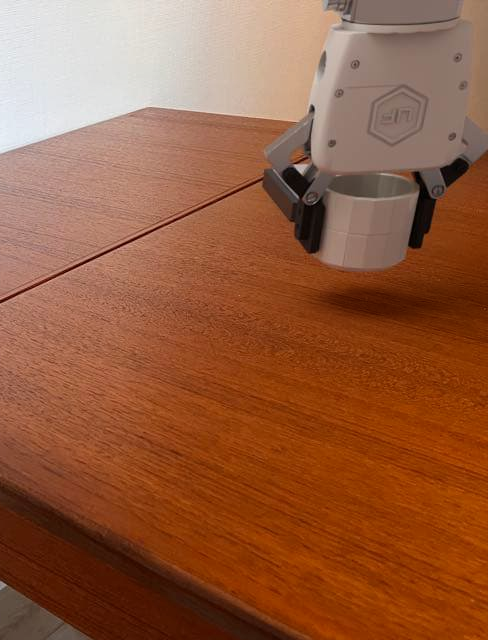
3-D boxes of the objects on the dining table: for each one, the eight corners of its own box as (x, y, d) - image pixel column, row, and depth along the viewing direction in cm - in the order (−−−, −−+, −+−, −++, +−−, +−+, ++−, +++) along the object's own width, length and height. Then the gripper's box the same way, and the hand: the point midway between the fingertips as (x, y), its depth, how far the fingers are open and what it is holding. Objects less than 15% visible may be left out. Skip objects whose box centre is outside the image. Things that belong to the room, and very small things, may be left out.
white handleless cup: (385, 240, 72) (399, 169, 69) (418, 273, 66) (435, 197, 63) (298, 244, 72) (308, 174, 69) (323, 277, 67) (335, 202, 63)
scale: (371, 182, 97) (376, 159, 95) (412, 217, 86) (418, 192, 85) (261, 186, 98) (265, 163, 96) (290, 221, 88) (294, 196, 86)
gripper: (286, 19, 57) (257, 268, 66) (565, -1, 55) (494, 258, 65) (259, 5, 63) (236, 234, 73) (508, -14, 62) (452, 223, 71)
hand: (358, 243), depth 69 cm, fingers closed on white handleless cup, 7 cm apart
